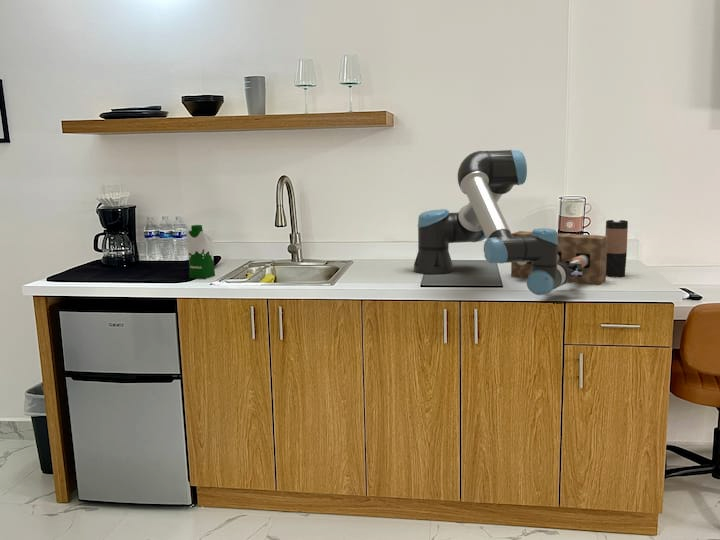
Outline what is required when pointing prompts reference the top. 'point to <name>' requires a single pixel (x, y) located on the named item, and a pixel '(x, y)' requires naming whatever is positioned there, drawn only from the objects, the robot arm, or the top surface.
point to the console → (572, 248)
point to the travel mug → (616, 247)
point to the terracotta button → (582, 260)
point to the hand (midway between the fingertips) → (577, 263)
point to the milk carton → (200, 252)
